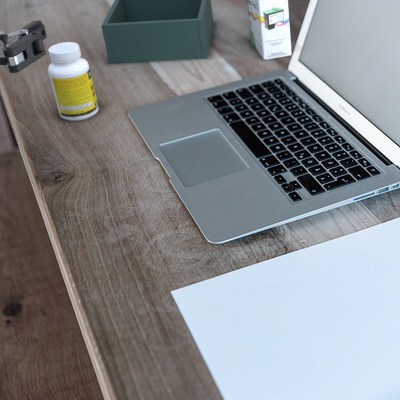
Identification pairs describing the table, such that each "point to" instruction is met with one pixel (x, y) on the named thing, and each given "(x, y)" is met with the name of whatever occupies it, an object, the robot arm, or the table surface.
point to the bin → (158, 30)
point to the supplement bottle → (72, 82)
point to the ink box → (270, 27)
